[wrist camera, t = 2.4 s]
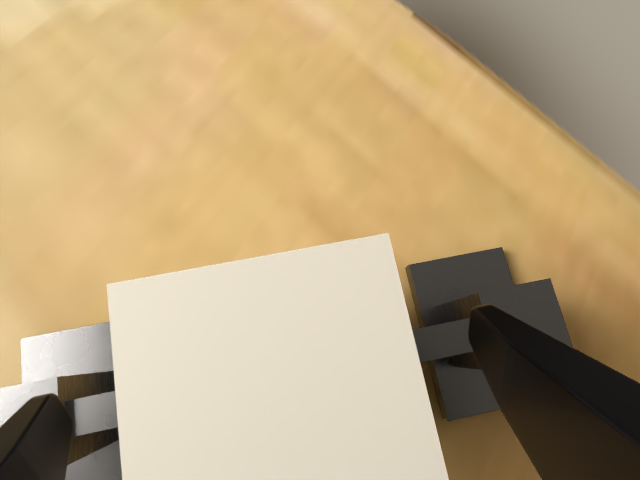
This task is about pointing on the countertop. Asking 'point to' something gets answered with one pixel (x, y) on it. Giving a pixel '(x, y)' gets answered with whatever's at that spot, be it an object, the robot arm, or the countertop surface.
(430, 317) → the black stand
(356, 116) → the countertop surface
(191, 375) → the cream link
